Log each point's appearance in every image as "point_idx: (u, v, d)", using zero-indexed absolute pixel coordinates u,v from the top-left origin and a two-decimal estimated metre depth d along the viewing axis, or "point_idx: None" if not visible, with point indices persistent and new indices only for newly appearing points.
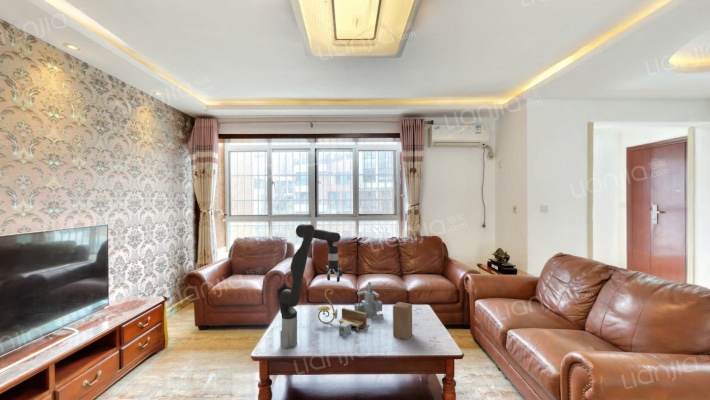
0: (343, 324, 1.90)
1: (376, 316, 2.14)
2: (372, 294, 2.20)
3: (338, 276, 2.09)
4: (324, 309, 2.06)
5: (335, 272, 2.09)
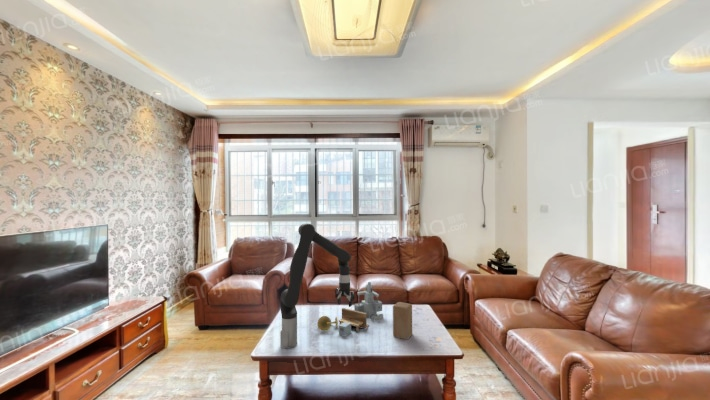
0: (343, 324, 1.90)
1: (376, 316, 2.14)
2: (372, 294, 2.20)
3: (350, 300, 1.87)
4: (324, 323, 1.95)
5: (347, 296, 1.88)
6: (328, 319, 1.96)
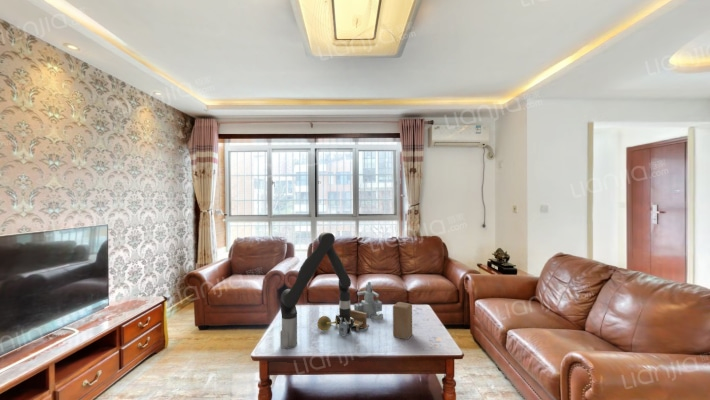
0: (343, 324, 1.90)
1: (376, 316, 2.14)
2: (372, 294, 2.20)
3: (349, 327, 1.87)
4: (324, 323, 1.95)
5: (346, 322, 1.87)
6: (328, 319, 1.96)
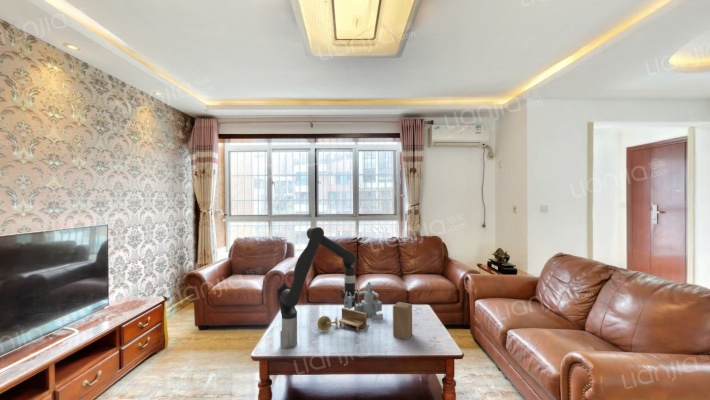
0: (348, 298, 1.99)
1: (376, 316, 2.14)
2: (372, 294, 2.20)
3: (353, 300, 1.96)
4: (324, 323, 1.95)
5: (351, 296, 1.96)
6: (328, 319, 1.96)
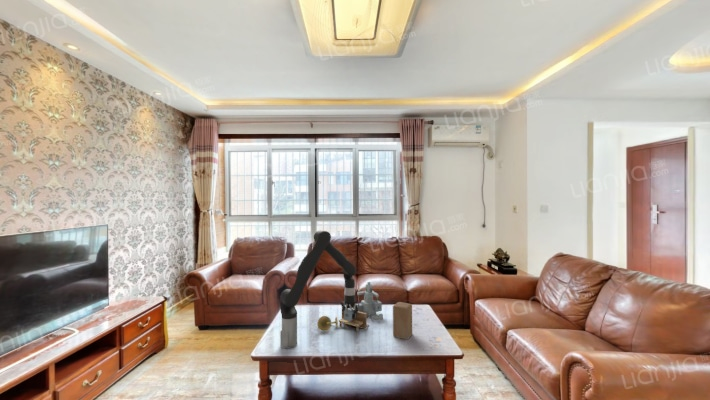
0: (348, 310, 1.99)
1: (376, 316, 2.14)
2: (372, 294, 2.20)
3: (353, 313, 1.96)
4: (324, 323, 1.95)
5: (351, 308, 1.96)
6: (328, 319, 1.96)
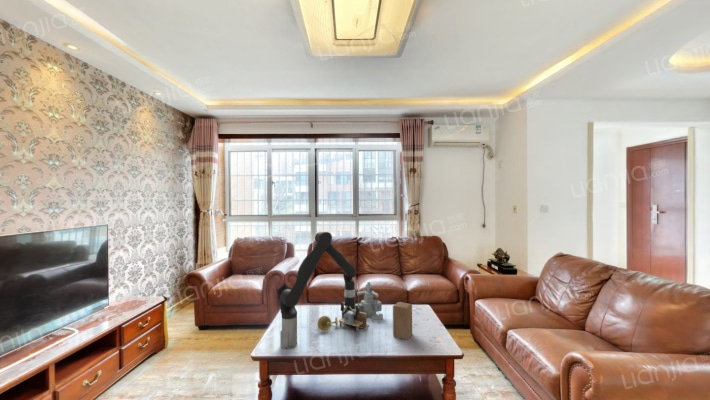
0: (348, 313, 1.98)
1: (375, 316, 2.14)
2: (371, 294, 2.20)
3: (355, 314, 1.95)
4: (324, 323, 1.95)
5: (352, 310, 1.96)
6: (328, 319, 1.96)
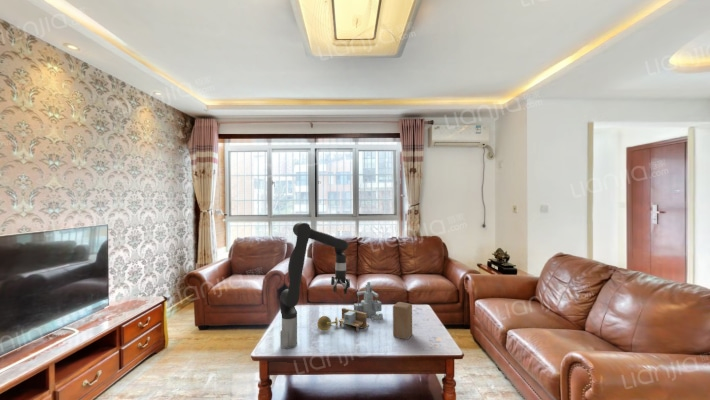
0: (348, 313, 1.98)
1: (375, 316, 2.14)
2: (371, 294, 2.20)
3: (345, 288, 1.92)
4: (324, 323, 1.95)
5: (342, 283, 1.93)
6: (328, 319, 1.96)
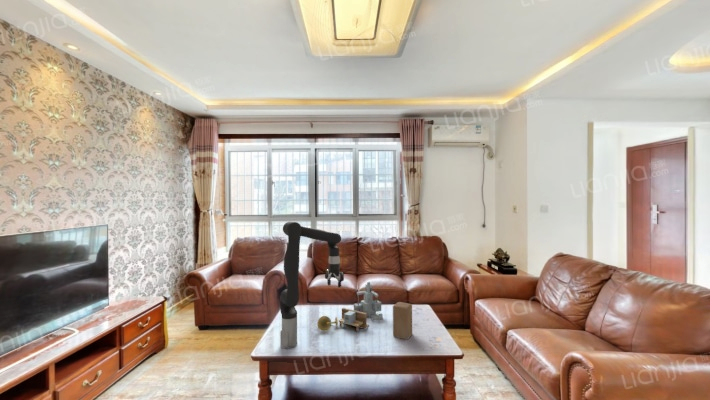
0: (348, 313, 1.98)
1: (375, 316, 2.14)
2: (371, 294, 2.20)
3: (339, 281, 1.90)
4: (324, 323, 1.95)
5: (336, 276, 1.91)
6: (328, 319, 1.96)
